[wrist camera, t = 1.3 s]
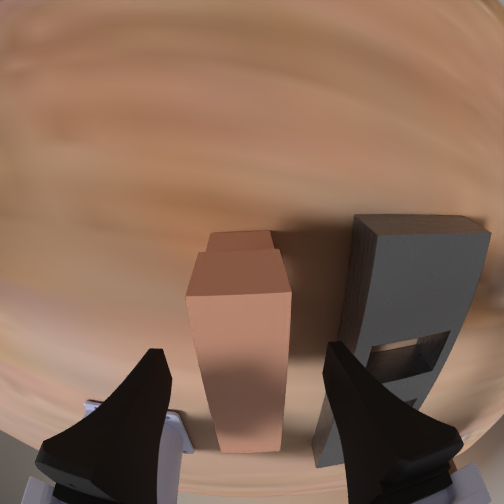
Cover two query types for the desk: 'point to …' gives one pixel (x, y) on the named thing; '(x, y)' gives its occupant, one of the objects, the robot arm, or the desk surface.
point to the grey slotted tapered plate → (404, 304)
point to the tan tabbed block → (242, 337)
